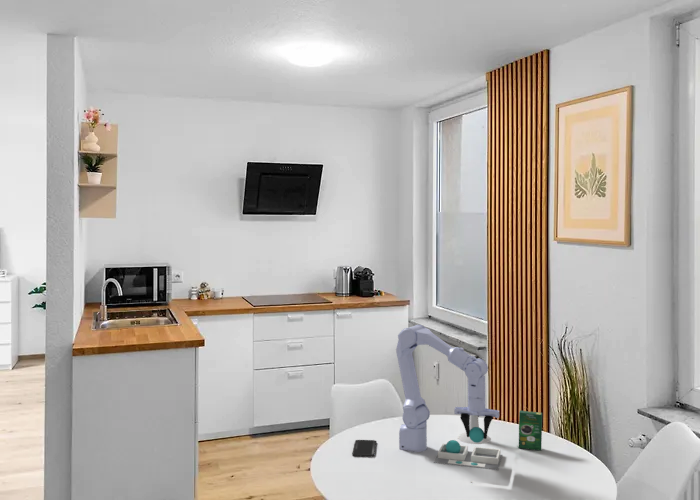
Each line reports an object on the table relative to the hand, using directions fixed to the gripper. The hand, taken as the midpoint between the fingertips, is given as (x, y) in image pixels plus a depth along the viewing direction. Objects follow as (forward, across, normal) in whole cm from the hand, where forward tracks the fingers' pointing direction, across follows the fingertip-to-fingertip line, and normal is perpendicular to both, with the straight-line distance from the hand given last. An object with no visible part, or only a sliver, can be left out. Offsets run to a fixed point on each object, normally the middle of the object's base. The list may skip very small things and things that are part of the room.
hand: (476, 436), depth 208 cm
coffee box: (+9, +16, +20) cm, 27 cm away
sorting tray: (+9, -3, +1) cm, 9 cm away
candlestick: (+9, -4, +22) cm, 24 cm away
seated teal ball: (+8, -8, +3) cm, 12 cm away
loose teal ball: (+2, 0, 0) cm, 2 cm away
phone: (+9, -40, +2) cm, 41 cm away
